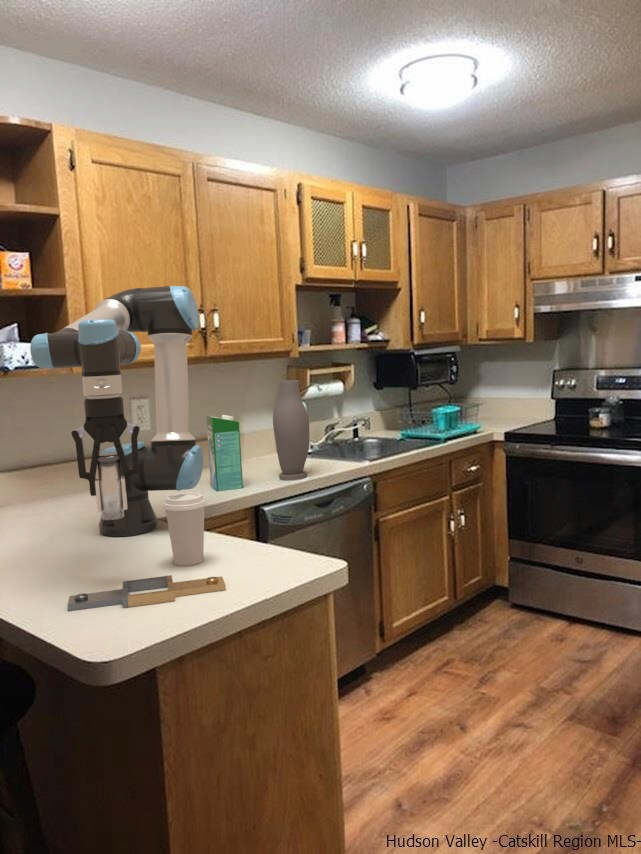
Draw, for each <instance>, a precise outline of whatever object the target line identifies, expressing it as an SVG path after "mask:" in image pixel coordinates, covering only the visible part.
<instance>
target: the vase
mask: <svg viewBox="0 0 641 854" xmlns="http://www.w3.org/2000/svg"><path fill="white" fill-rule="evenodd" d="M300 389H301V388H300V381H299V379H289V380H288V379H287V380H279V385H278V394H277V397H276V401H275V404H274V408H273V412H272V413H273V414H272V426H273V434H274V440H275V447H276V453H277V458H278V463H279V468H280V470H281V472H282V473H278V477H279V480H280V481H298V480H303V479H305V478H307V477H308V472H307V471H306V470H304V468H305V465H306V461H307V458H308V454H309V451H310V420H309V415H308V412H307V409H306V407H305V405H304V401H303V400H302V397H301V391H300Z"/></svg>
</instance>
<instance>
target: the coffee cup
mask: <svg viewBox="0 0 641 854" xmlns="http://www.w3.org/2000/svg"><path fill="white" fill-rule="evenodd" d="M206 506H207V502H206V500H205V498H204V496H203V494H201V493H198V492H182V493H181V492H180V493H175V494H170V495H168V496H166V498H165V501H164V503H163V507H162V509H164V510H165V514H166V520H167V526H168V532H169V539H170V546H171V550H172V557H173V563H175V565H176V566H179V567H189V566H191V567H192V566H194V565H198V564H201V563H202V562H204V550H205V549H204V545H205V544H204V543H205V542H204V541H205V537H204V535H205V534H204V533H205V507H206Z"/></svg>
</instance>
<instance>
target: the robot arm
mask: <svg viewBox="0 0 641 854" xmlns="http://www.w3.org/2000/svg"><path fill="white" fill-rule="evenodd" d="M199 315H200V314H199V310H198V306H197V301H196V299H195V297H194V294H193V292H192V290H191V289H190V288H189V287H187V286H184V285H183V286H182V285H181V286H180V285H168V286H167V285H166V286H154V287H153V286H152V287H133V288H129V289H124V290H122V291H120V292H117V293H114V294H112V295H110V296H108V297H106V298H104V299H103V300H100V301H99V302H98V303H97V304H96V305H95V307H94V309H93V310H92V311H90V312H89V313H87V314H85V315H84V316H82V317H80V318H78V319H77V320H75V321H73V322H72V323H70V324H68V325H67V326H64V327H63V328H61V329H60V330H58V331H57V332H54V333H53V332H52V333H48V332H45V333H40V334H39V333H38V334H36V335H34V336H33V338H32V339H31V341H30V347H29V348H30V349H29V350H30V355H31V359H32V362H33V363H34V365H35V366H36V367H38V368H40V369H51V370H55V369H68V368H70V369H71V368H81V380H82V391H83V393H82V394H83V396H84V397H86V398H85V399H84V400H83V403H84V415H85V416H84V417H85V420H84V423H83V426H81V427H79V428H77V429H73V430H72V431H71V436H72V438H73V440H74V442H75V450H76V452H75V453H76V459H77V469H78V476H79V478H80V479H83V480H84V479H85V480H87V481H88V483H89V493H90V496H91V497H95V496H96V497H95V498H96V509H97V510H96V511H97V513H101V515H100V519H99V522H98V523H99V524H98V528H99V534H100V535H102V536H106V537H128V536H129V537H130V536H136V535H141V534H145V533H148V532H149V533H150V532H152V531H154V530H156V529H157V527H158V518H157V515H156V513H155V511H154V508H153V506H152V504H151V501H150V498H149V492H150V491H159V492H160V491H178V492H180V491H184V490H185V491H186V490H193V489H194V488H195V487H197V485H198V484H199V483H200V480H201V477H202V474H203V468H204V467H203V466H204V452H203V451H204V450H203V448H202V446H200V445H198V444H196V442H197V440H196V437H194V435H192V434H191V432H190V411H189V410H190V409H189V408H190V407H189V402H190V401H189V372H188V347H187V346H188V343H189V342H190V340H191V339H192V338H193V331H195V330H197V329H198V328H199V325H200V324H199V323H200V316H199ZM146 332H147V338H148V339H149V340H150V341H151V342H152V343H153V347H154V348H153V351H154V352H153V354H154V358H153V359H154V383H155V384H154V385H155V386H154V387H155V389H154V390H155V417H156V421H155V422H156V433H155V435H154V437H153V438H152V439H151V440H150V445H151V446H150V447H146V443H145V442H144V441H138V436H139V433H140V429H141V428H140V425H138V424H131V423H128V421H127V419H126V418H125V410H124V407H125V406H124V398H123V397H122V396H120V395H122V393H123V384H122V374H121V366H128V365H130V364H132V363H135V362H136V361H137V360H138V359H139V357H140V356H141V355H140V354H141V352H142V346H141V342H140V340H139V338H138V337H137V335H135V334H134V333H146ZM126 429H127V432H128V435H130V436H131V437H130V442H127V443H122V442H121V441H122V440H121V439H120V438H121V437H122V435H123V433H124V432H125V430H126ZM85 432H86V433H87V434H88V435H89V436H90V437H91V439H92V440H93V447H92V455H91V461H90V465H89V466H90V467H89V472H88V471H87V470H86V469H87V467H86V459H85V450H84V449H85V448H84V441H83V439H84V437H85ZM104 443H113V446H109V447H107V448H104V449H103V450H102V451H101V453H100V450H101V449H100V448H101V444H104ZM107 453H117V455H120V457H121V460H119V461H120V469H121V486H122V498H123V510H124V517H123V518H120V519H115V520H103V519H102V509H101V497H100V485H99V477H98V478H96V476H97V475H96V474H97V471H98V463H97V462H96V457H98V456H99V455H100V454H107Z"/></svg>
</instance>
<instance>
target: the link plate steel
mask: <svg viewBox="0 0 641 854" xmlns="http://www.w3.org/2000/svg"><path fill="white" fill-rule="evenodd" d="M167 576H168V575H163V576H155V577H148V578H138V579H131V580H125V581H122V588H121V589H114V590H103V591H98V592H97V591H96V592H90V593H89V592H88V593H84V592H83V593H78V594H74V595H69V598H68V602H67V611H68V612H70V611H79V610H86V609H92V608H93V609H94V608H101V607H108V606H115V605H117V606H118V605H122V608H123V609H125V608H130V607H129V606H128V595H130V593H131V592H138V591H139V592H140V591H146V590H155V589H163V588H168V587H167Z"/></svg>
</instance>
